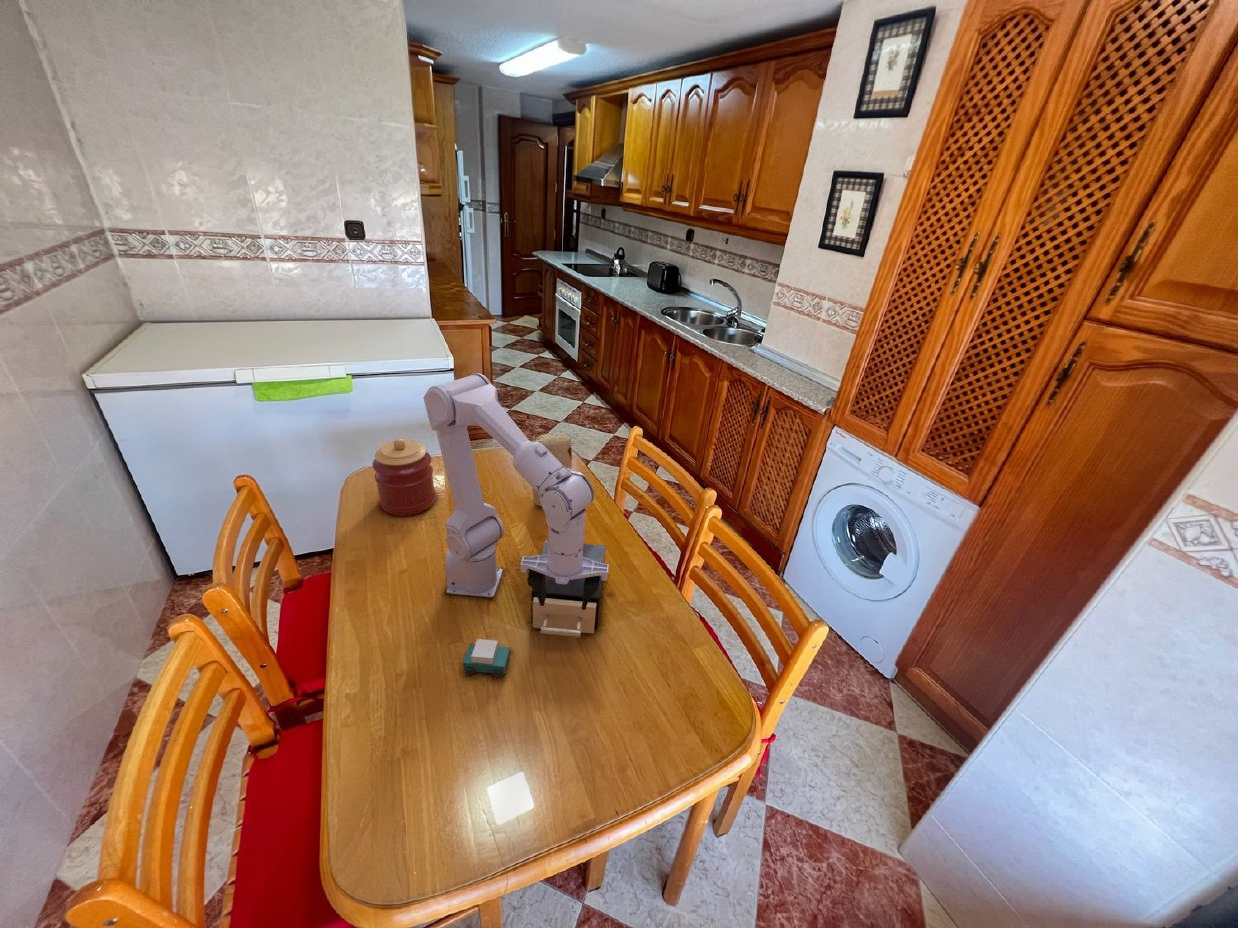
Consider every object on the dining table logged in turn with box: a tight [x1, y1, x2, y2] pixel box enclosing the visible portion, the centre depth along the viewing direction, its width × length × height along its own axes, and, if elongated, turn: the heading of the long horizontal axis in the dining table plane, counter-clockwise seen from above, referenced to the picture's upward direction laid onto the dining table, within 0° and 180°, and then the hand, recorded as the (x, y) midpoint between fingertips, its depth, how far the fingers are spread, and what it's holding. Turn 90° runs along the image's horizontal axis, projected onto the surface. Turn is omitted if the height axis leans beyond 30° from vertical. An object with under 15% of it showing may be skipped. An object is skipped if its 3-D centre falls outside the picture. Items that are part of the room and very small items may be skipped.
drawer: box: [532, 595, 596, 639], centre depth 95 cm, size 18×11×7 cm, turn 177°
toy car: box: [462, 638, 511, 679], centre depth 85 cm, size 7×5×4 cm
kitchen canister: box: [371, 437, 437, 517], centre depth 119 cm, size 13×13×18 cm
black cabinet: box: [530, 539, 607, 631], centre depth 98 cm, size 15×13×9 cm
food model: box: [532, 433, 573, 508], centre depth 123 cm, size 10×7×20 cm
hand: (563, 603), depth 87 cm, fingers open, 7 cm apart
